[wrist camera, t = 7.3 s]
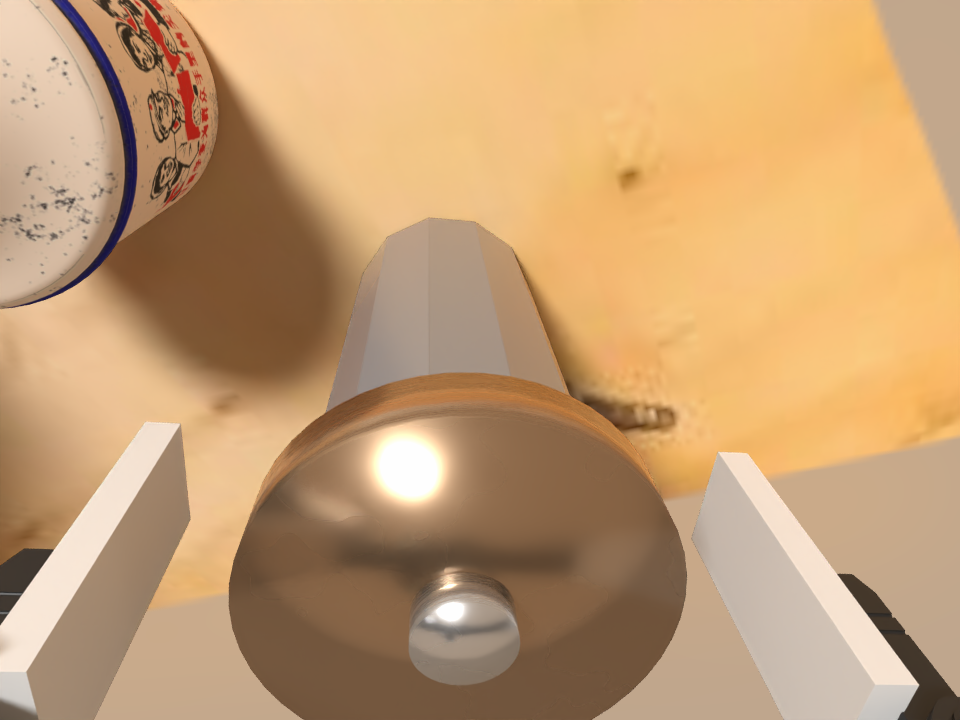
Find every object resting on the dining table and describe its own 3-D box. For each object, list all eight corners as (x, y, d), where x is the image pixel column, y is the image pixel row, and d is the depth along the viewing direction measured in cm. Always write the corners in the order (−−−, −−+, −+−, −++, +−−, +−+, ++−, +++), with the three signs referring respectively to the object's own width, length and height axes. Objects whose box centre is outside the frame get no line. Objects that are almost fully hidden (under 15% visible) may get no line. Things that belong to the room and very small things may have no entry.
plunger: (326, 420, 26) (230, 795, 14) (328, 200, 23) (197, 430, 10) (544, 431, 27) (645, 794, 14) (580, 221, 24) (760, 459, 11)
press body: (358, 424, 30) (306, 715, 17) (364, 212, 26) (303, 391, 13) (507, 432, 30) (561, 717, 18) (536, 227, 26) (634, 410, 14)
